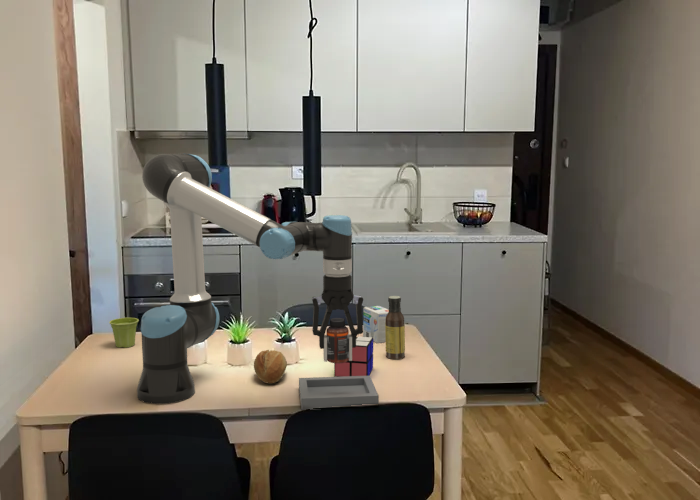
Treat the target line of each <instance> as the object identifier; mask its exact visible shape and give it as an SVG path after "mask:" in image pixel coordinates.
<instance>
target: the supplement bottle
mask: <svg viewBox="0 0 700 500" xmlns="http://www.w3.org/2000/svg"><path fill="white" fill-rule="evenodd" d="M349 332H350V329H349V327H347V326H346V318H345V319H344V318H343V317H342V318H341V317H333V318H331V319H329V325H328V326H327V329H326V336H327V362H329V363H332V364H334V363H344V362H347V361H348V360H349Z"/></svg>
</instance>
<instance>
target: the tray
mask: <svg viewBox="0 0 700 500" xmlns="http://www.w3.org/2000/svg"><path fill="white" fill-rule="evenodd" d="M298 393H299V400H300V401H299V402H300V407H301V408H300V409H301V411H303V410H306V409H310V410H314V409H313V408H319V407H332V406H351V405H362V404H379V400H380V399H379V397H380V395H379V393H378V391H377V389H376V386H375V385H374V382H373V380H372V378H371V376H370V375H369V376H342V377H335V376H319V377H318V376H317V377H316V376H313V377H298Z"/></svg>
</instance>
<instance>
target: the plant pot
mask: <svg viewBox="0 0 700 500" xmlns="http://www.w3.org/2000/svg"><path fill="white" fill-rule="evenodd" d="M139 321H140V320H139V318H136V317H120V318H115V319H114V318H113V319H112V320H110V321H109V322H108V323H109V325H110V328H111V329H112V335H113V337H114V343H115V347H117V348H131V347H134V345H135V344H136V333H137V326H138V323H139Z"/></svg>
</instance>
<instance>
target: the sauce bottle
mask: <svg viewBox="0 0 700 500" xmlns="http://www.w3.org/2000/svg"><path fill="white" fill-rule="evenodd" d="M401 297H402V296H399V295H390V296H388V310H389V312H388V314H387V316H386V321H385V337H386V342H385V355H386V358H388V359H390V360H401V359H403V358H404V357H405V355H406V353H405V352H406V344H405V342H406V340H405V339H406V338H405V337H406V336H405V335H406V333H405V332H406V331H405V330H406V328H405V316H404V314H403V313H402V308H401V302H402V298H401Z"/></svg>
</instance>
